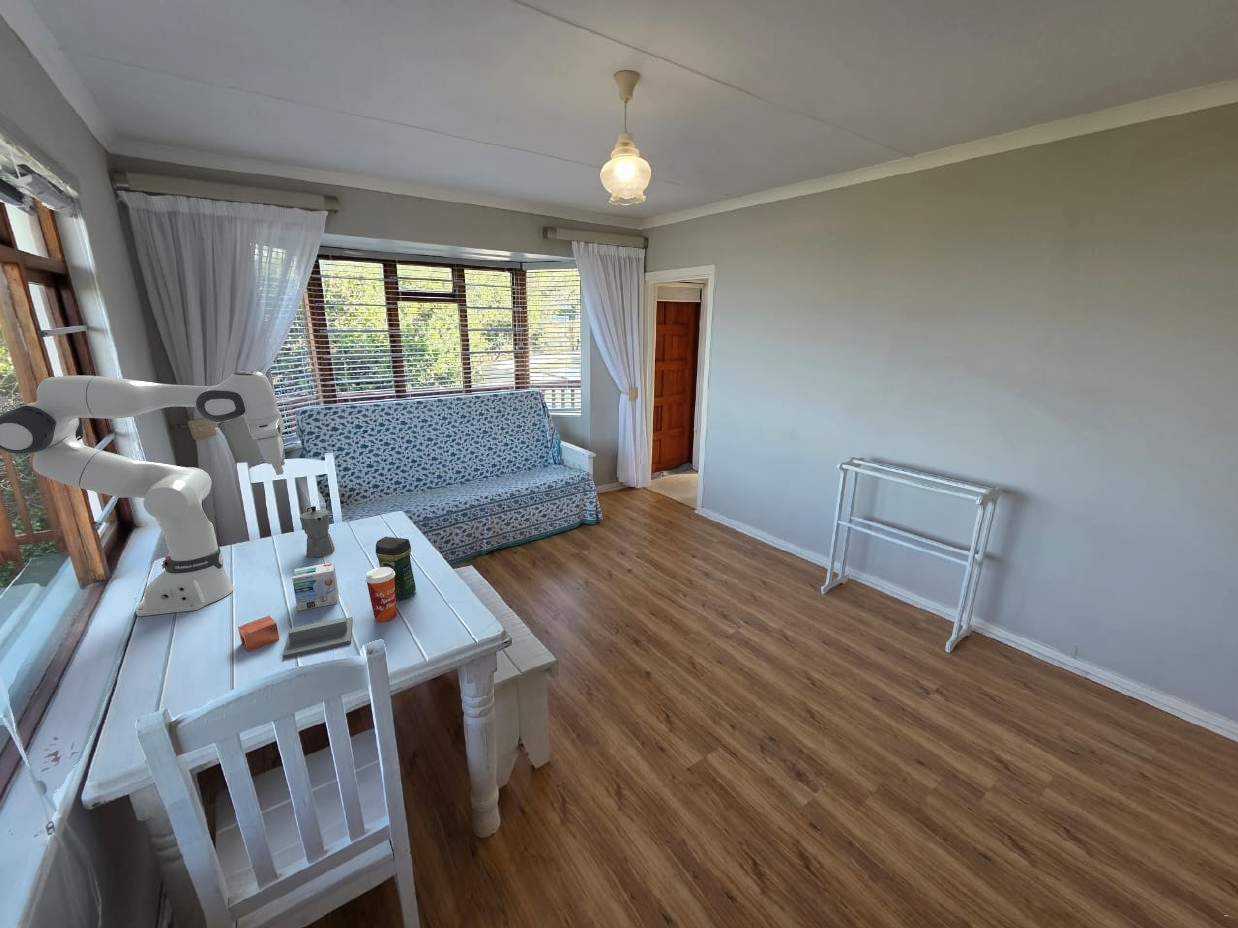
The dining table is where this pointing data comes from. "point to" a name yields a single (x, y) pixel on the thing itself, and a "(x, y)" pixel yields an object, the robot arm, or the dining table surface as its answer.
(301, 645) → the stand
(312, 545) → the coffeepot
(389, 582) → the paper cup
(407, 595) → the coffee jar
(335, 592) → the light bulb box
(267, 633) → the block
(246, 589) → the dining table surface
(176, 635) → the dining table surface
